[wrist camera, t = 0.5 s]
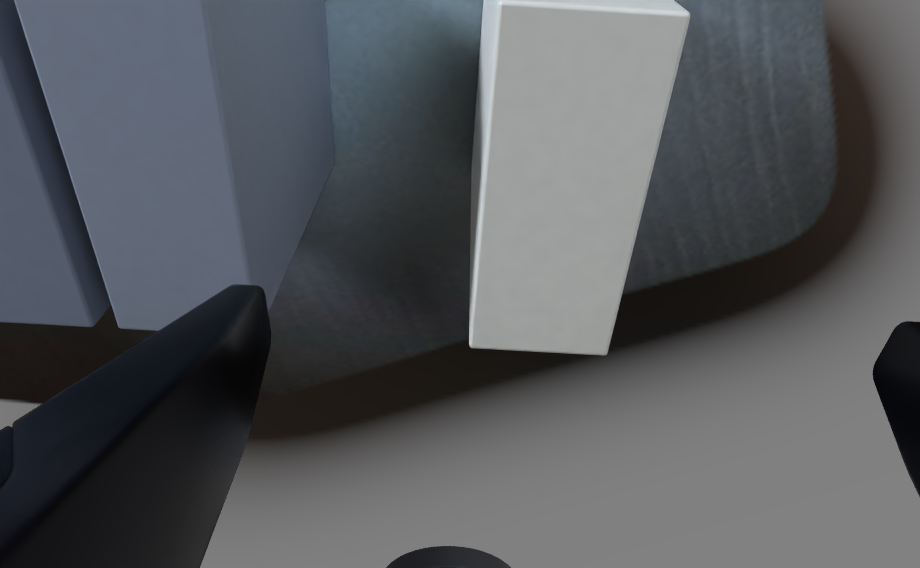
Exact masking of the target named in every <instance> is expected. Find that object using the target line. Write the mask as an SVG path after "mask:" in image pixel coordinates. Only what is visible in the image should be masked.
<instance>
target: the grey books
mask: <svg viewBox="0 0 920 568" xmlns="http://www.w3.org/2000/svg"><path fill="white" fill-rule="evenodd" d="M333 165H334V145H333V129H332V113H331V96H330V80H329V64H328V47H327V31H326V15H325V0H0V322H7V323H25V324H43V325H61V326H79V327H93V326H95V325H96V323H97V322H98V321H99V319H100V318H101V317H102V316H103V314H104V313H105V312H106V311H107V309H108V308H109V307H110V306H111V305H112V308H113V311H114V314H115V318H116V321H117V324H118V327H119V328H121V329H134V330H152V331H159V330H160V329H162V328H164V327H165V326H167V325H168V324H170V323H171V322H173V321H175V320H176V319H178V318H179V317H181V316H183V315H184V314H186V313H187V312H189V311H190V310H192V309H194V308H195V307H197V306H198V305H200V304H202V303H203V302H205V301H206V300H208V299H210V298H211V297H213V296H214V295H216V294H217V293H219V292H221V291H222V290H224V289H225V288H227V287H229V286H231V285H233V284H243V285H258V286H260V287H262V288H263V290H264V292H265V296H266V302H267V309H268V313H269V310H270V308H271V306H272V303H273V301H274V299H275V297H276V294H277V292H278V290H279V287H280V285H281V283H282V281H283V278H284V276H285V274H286V272H287V269H288V267H289V265H290V262H291V260H292V258H293V256H294V253H295V251H296V249H297V247H298V244H299V242H300V240H301V237H302V235H303V233H304V231H305V228H306V226H307V224H308V222H309V219H310V217H311V215H312V212H313V210H314V208H315V206H316V203H317V201H318V199H319V197H320V194H321V192H322V190H323V187H324V185H325V183H326V181H327V178H328V176H329V174H330V172H331V169H332V167H333Z"/></svg>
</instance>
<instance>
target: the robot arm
mask: <svg viewBox="0 0 920 568" xmlns="http://www.w3.org/2000/svg"><path fill="white" fill-rule="evenodd" d="M270 344H271V329H270V322H269V315H268V309H267V302H266V296H265V292H264V290H263V288H262V287H260V286H258V285H243V284H233V285H231V286H229V287H227V288H225V289H224V290H222V291H221V292H219V293H217V294H216V295H214V296H213V297H211V298H210V299H208V300H206V301H205V302H203V303H202V304H200V305H198V306H197V307H195V308H194V309H192V310H190V311H189V312H187V313H186V314H184V315H183V316H181V317H179V318H178V319H176V320H175V321H173V322H171V323H170V324H168V325H167V326H165V327H164V328H162V329H160V330H159V331H157V332H156V333H154V334H152V335H151V336H149V337H148V338H146V339H144V340H143V341H141V342H140V343H138V344H137V345H135V346H133V347H132V348H130V349H129V350H127V351H125V352H124V353H122V354H121V355H119V356H118V357H116V358H114V359H113V360H111V361H110V362H108V363H106V364H105V365H103V366H102V367H100V368H98V369H97V370H95V371H94V372H92V373H91V374H89V375H87V376H86V377H84V378H83V379H81V380H79V381H78V382H76V383H75V384H73V385H72V386H70V387H68V388H67V389H65V390H64V391H62V392H60V393H59V394H57V395H56V396H54V397H52V398H51V399H49V400H48V401H46V402H45V403H43V404H41V405H40V406H38V407H37V408H35V409H33V410H32V411H30V412H29V413H27V414H26V415H24V416H22V417H21V418H19V419H18V420H16V421H15V422H14V423H13V426H12V427H10V426H7V427H5V428H3V429H1V430H0V568H200V566H201V563H202V560H203V558H204V555H205V552H206V550H207V547H208V544H209V541H210V539H211V536H212V533H213V531H214V528H215V526H216V523H217V520H218V518H219V515H220V513H221V510H222V507H223V504H224V502H225V499H226V496H227V494H228V491H229V489H230V486H231V483H232V481H233V478H234V475H235V473H236V470H237V467H238V465H239V462H240V459H241V457H242V454H243V451H244V448H245V445H246V442H247V439H248V435H249V431H250V428H251V424H252V420H253V416H254V412H255V408H256V404H257V400H258V395H259V391H260V387H261V383H262V379H263V375H264V371H265V366H266V362H267V358H268V354H269V350H270ZM873 380H874V383H875V386H876V388H877V391H878V394H879V396H880V399H881V402H882V405H883V407H884V410H885V412H886V415H887V418H888V421H889V423H890V426H891V429H892V431H893V434H894V437H895V439H896V442H897V444H898V447H899V450H900V452H901V455H902V458H903V461H904V463H905V466H906V468H907V470H908V473H909V475H910V478H911V480H912V482H913V484H914V486H915V488H916V490H917V492H918V494H919V496H920V322H903V323H901V324H899V325H898V326H897V327H896V328H895V329H894V330H893V332H892V334H891V336H890V337H889V339H888V341H887V343H886V344H885V346H884V348H883V350H882V352H881V353H880V355H879V357H878V359H877V360H876V362H875V364H874V368H873Z"/></svg>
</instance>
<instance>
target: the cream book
mask: <svg viewBox="0 0 920 568" xmlns="http://www.w3.org/2000/svg"><path fill="white" fill-rule="evenodd" d="M689 21H690V13H689V12H688V11H687V10H686V9H684V8H683V7H682V6H681V5H679V4H678V3H677V2H676V1H674V0H483V14H482V28H481V42H480V56H479V70H478V84H477V98H476V112H475V126H474V140H473V154H472V168H471V236H470V313H469V345H470V347H471V348H480V349H498V350H516V351H533V352H534V351H535V352H551V353H552V352H553V353H570V354H587V355H606V354H607V352H608V348H609V344H610V340H611V336H612V332H613V327H614V324H615V320H616V316H617V312H618V308H619V304H620V300H621V296H622V292H623V288H624V284H625V280H626V276H627V272H628V267H629V263H630V259H631V255H632V251H633V247H634V243H635V239H636V235H637V231H638V227H639V223H640V219H641V215H642V211H643V207H644V203H645V199H646V195H647V191H648V187H649V183H650V178H651V174H652V170H653V166H654V162H655V158H656V154H657V150H658V146H659V142H660V138H661V134H662V130H663V126H664V122H665V118H666V114H667V110H668V106H669V102H670V98H671V94H672V90H673V85H674V81H675V77H676V73H677V69H678V65H679V61H680V57H681V53H682V49H683V45H684V41H685V37H686V33H687V29H688V25H689Z"/></svg>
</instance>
